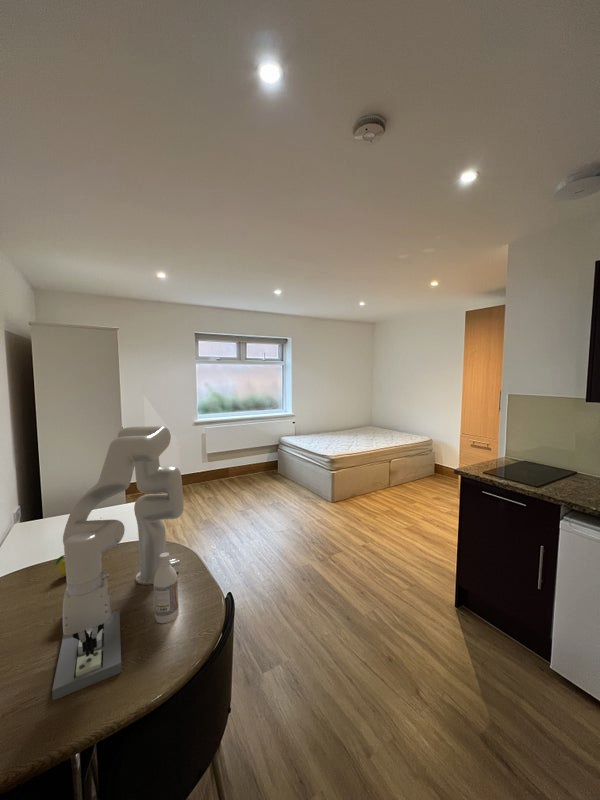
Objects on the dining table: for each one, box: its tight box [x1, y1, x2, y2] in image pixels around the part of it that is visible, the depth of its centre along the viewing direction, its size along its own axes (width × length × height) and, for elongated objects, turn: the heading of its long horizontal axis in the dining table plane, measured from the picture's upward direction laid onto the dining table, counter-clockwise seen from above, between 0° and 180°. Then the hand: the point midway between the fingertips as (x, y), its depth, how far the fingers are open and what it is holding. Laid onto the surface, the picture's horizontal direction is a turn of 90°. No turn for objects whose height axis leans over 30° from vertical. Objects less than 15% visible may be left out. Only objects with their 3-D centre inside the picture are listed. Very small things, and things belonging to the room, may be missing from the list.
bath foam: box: [153, 551, 180, 624], centre depth 101 cm, size 7×7×20 cm
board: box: [51, 609, 122, 701], centre depth 88 cm, size 14×23×2 cm, turn 30°
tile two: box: [78, 629, 103, 656], centre depth 88 cm, size 5×5×3 cm
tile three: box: [76, 649, 103, 678], centre depth 82 cm, size 5×5×3 cm
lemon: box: [55, 554, 66, 577], centre depth 125 cm, size 7×6×10 cm
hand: (90, 651), depth 82 cm, fingers closed
